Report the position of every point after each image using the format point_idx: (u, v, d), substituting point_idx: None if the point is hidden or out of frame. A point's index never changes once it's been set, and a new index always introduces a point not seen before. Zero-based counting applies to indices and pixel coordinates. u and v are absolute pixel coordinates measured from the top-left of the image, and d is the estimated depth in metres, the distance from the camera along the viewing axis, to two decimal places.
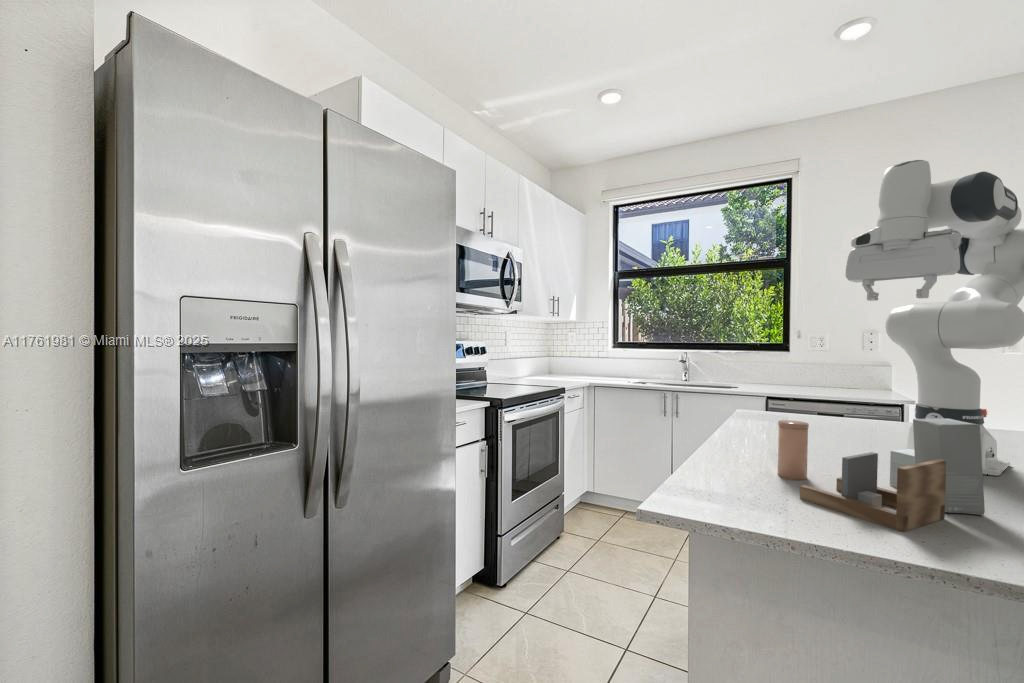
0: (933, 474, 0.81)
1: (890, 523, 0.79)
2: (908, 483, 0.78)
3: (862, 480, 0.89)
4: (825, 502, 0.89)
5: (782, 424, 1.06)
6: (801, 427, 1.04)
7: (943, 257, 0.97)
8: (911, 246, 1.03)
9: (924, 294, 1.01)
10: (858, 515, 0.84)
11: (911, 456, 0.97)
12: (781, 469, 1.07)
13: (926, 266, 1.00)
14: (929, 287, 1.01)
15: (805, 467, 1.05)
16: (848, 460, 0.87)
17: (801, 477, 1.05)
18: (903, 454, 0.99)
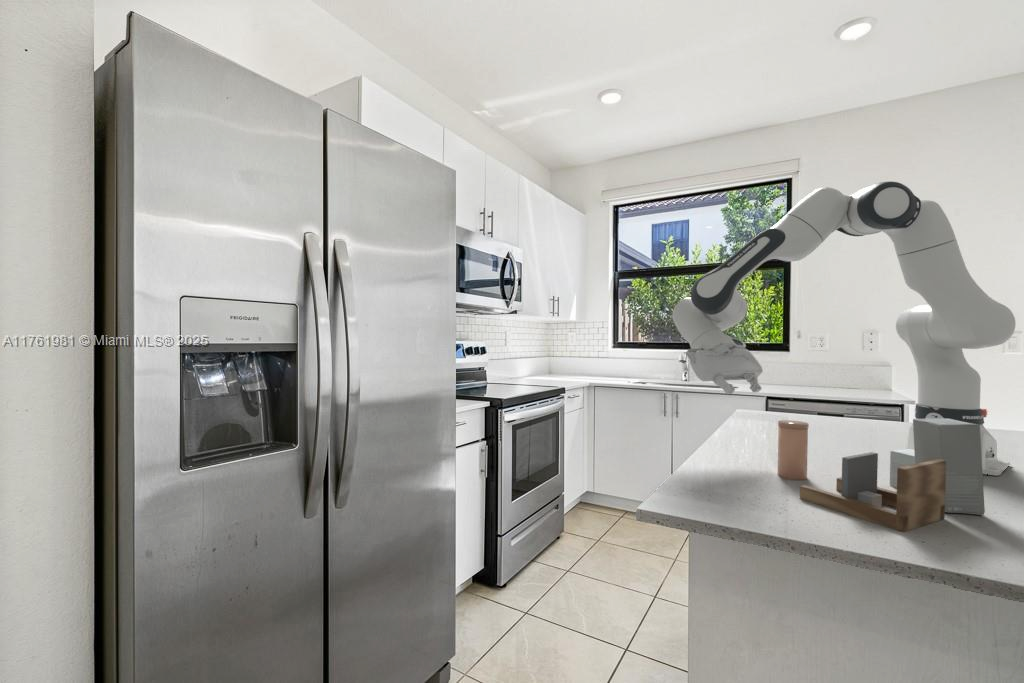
0: (933, 474, 0.81)
1: (890, 523, 0.79)
2: (908, 483, 0.78)
3: (862, 480, 0.89)
4: (825, 502, 0.89)
5: (782, 424, 1.06)
6: (801, 427, 1.04)
7: None
8: None
9: (726, 392, 1.16)
10: (858, 515, 0.84)
11: (911, 456, 0.97)
12: (781, 469, 1.07)
13: None
14: (723, 384, 1.17)
15: (805, 467, 1.05)
16: (848, 460, 0.87)
17: (801, 477, 1.05)
18: (903, 454, 0.99)
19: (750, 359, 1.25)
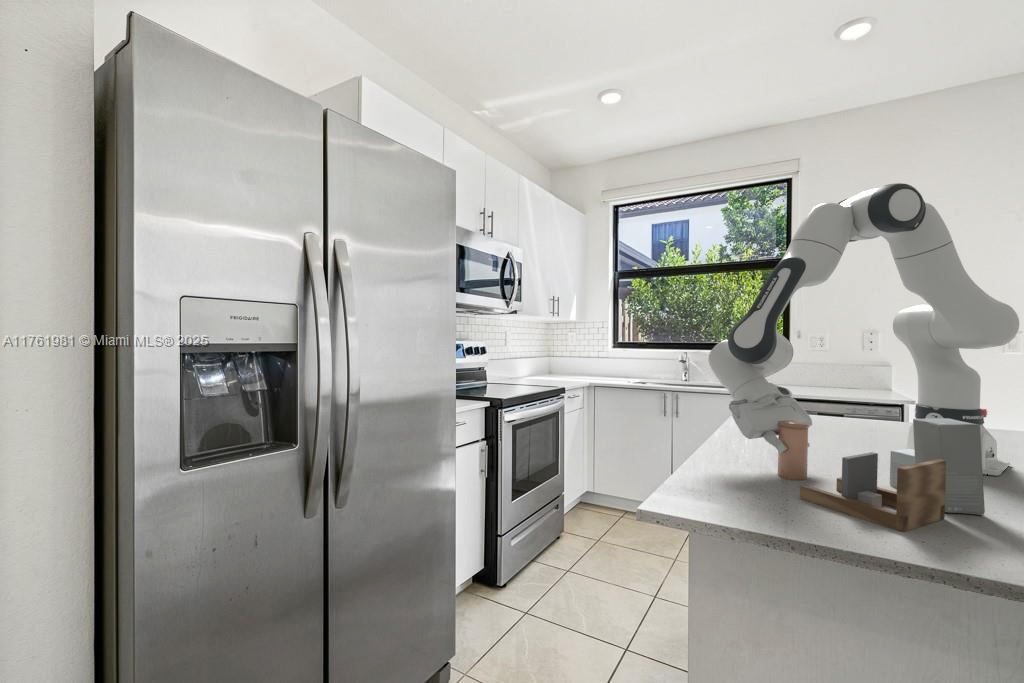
0: (933, 474, 0.81)
1: (890, 523, 0.79)
2: (908, 483, 0.78)
3: (862, 480, 0.89)
4: (825, 502, 0.89)
5: (782, 424, 1.06)
6: (801, 427, 1.04)
7: None
8: None
9: (779, 451, 1.06)
10: (858, 515, 0.84)
11: (911, 456, 0.97)
12: (782, 469, 1.07)
13: None
14: (776, 442, 1.06)
15: (805, 467, 1.05)
16: (848, 460, 0.87)
17: (801, 477, 1.05)
18: (903, 454, 0.99)
19: (798, 410, 1.14)
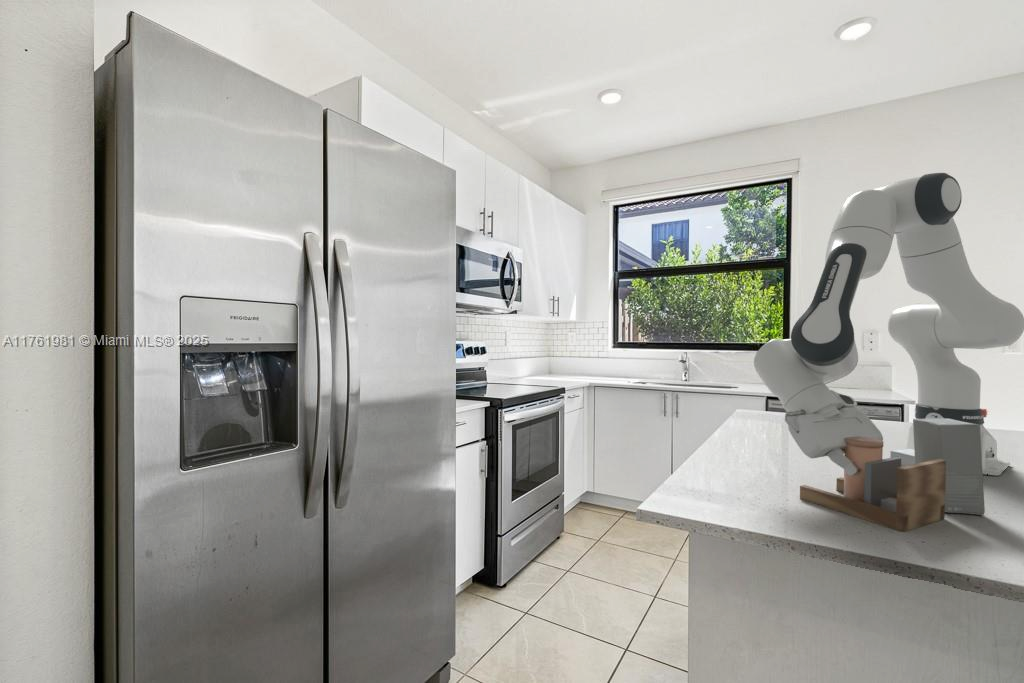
0: (933, 474, 0.81)
1: (890, 523, 0.79)
2: (908, 483, 0.78)
3: (885, 486, 0.86)
4: (825, 502, 0.89)
5: (851, 442, 0.88)
6: (875, 446, 0.86)
7: None
8: None
9: (848, 473, 0.87)
10: (858, 515, 0.84)
11: (911, 456, 0.97)
12: (850, 495, 0.88)
13: None
14: (844, 463, 0.88)
15: None
16: (871, 465, 0.84)
17: None
18: (903, 454, 0.99)
19: (864, 422, 0.96)
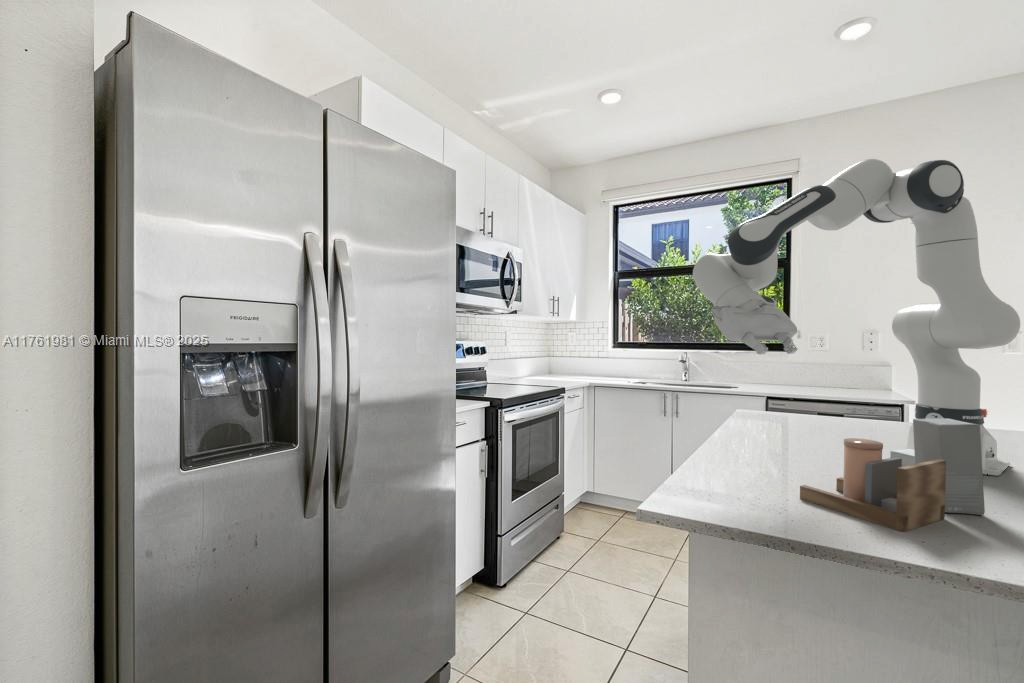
0: (933, 474, 0.81)
1: (890, 523, 0.79)
2: (908, 483, 0.78)
3: (886, 486, 0.85)
4: (825, 502, 0.89)
5: (850, 444, 0.88)
6: (875, 448, 0.86)
7: None
8: None
9: (757, 352, 1.02)
10: (858, 515, 0.84)
11: (911, 456, 0.97)
12: None
13: None
14: (754, 344, 1.02)
15: None
16: (872, 465, 0.83)
17: None
18: (903, 454, 0.99)
19: (782, 318, 1.11)
